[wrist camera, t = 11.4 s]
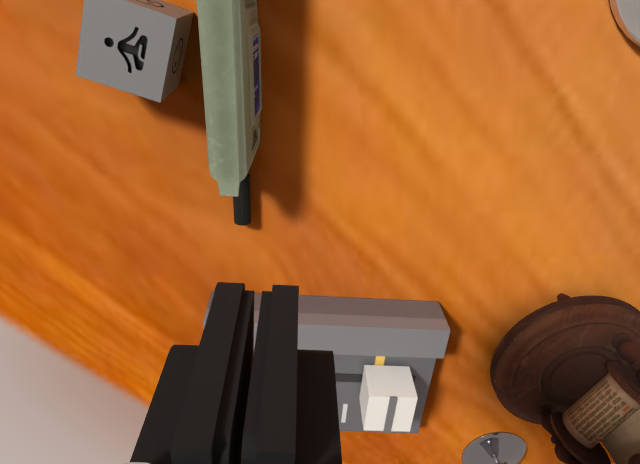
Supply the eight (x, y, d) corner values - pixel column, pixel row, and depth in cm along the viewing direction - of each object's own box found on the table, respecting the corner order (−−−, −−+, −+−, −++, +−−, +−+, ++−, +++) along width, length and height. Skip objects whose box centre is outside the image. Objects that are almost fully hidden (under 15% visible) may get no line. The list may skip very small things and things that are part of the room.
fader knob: (409, 366, 43) (418, 398, 40) (402, 399, 45) (410, 433, 42) (364, 364, 43) (369, 397, 40) (359, 398, 45) (363, 432, 41)
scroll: (566, 423, 51) (702, 658, 34) (454, 373, 48) (541, 609, 30) (675, 325, 46) (910, 548, 28) (558, 260, 42) (742, 470, 24)
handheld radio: (260, -180, 28) (266, 216, 39) (202, -182, 28) (226, 215, 39) (242, -221, 22) (256, 259, 33) (168, -224, 22) (208, 257, 33)
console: (438, 301, 44) (450, 330, 40) (413, 413, 50) (421, 446, 47) (211, 291, 42) (203, 320, 39) (215, 406, 49) (208, 440, 45)
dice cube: (178, 85, 34) (160, 102, 30) (106, 61, 33) (75, 75, 29) (194, 12, 32) (176, 18, 28) (116, -16, 31) (85, -14, 27)
